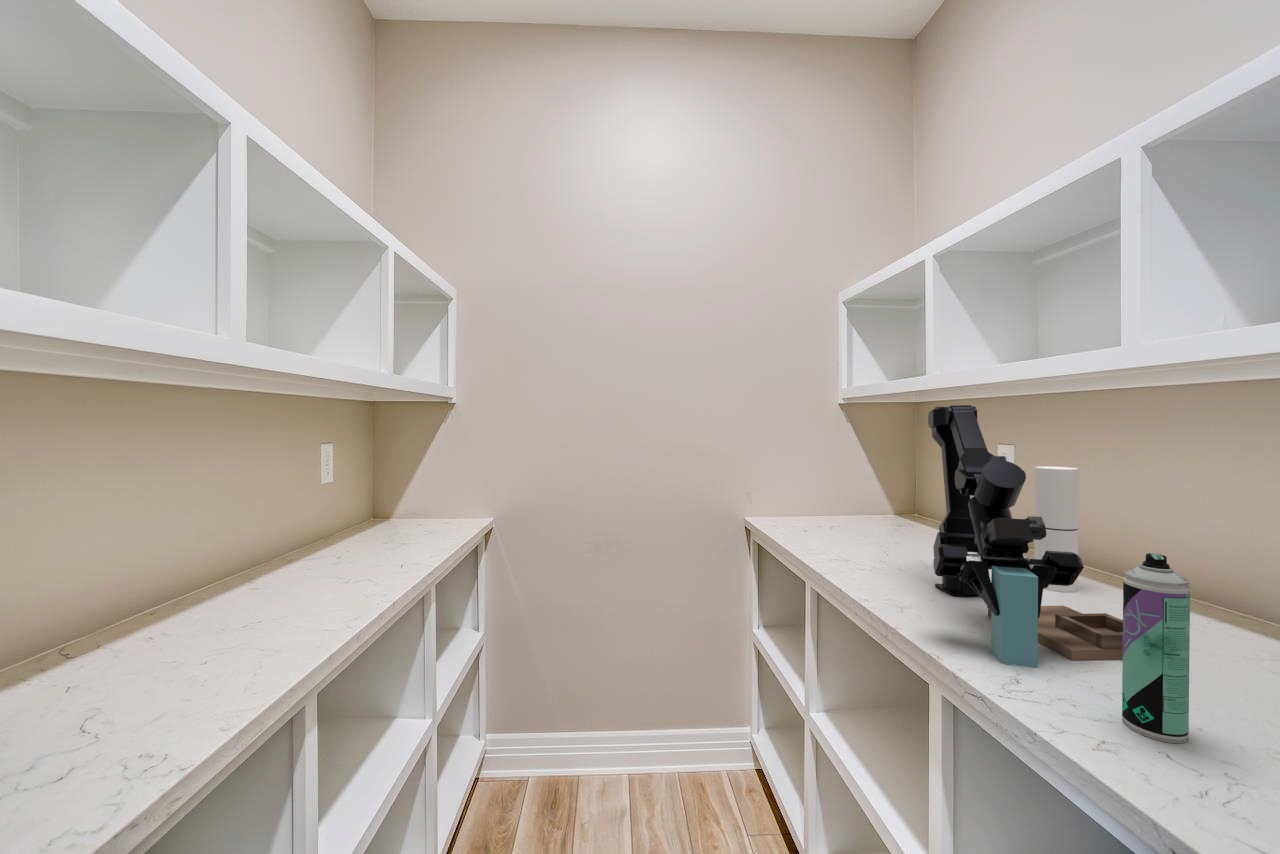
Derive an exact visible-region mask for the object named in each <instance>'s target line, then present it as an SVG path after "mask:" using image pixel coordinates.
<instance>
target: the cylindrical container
mask: <svg viewBox="0 0 1280 854" xmlns="http://www.w3.org/2000/svg"><path fill="white" fill-rule="evenodd" d="M1034 517H1042V519H1043V522H1044V524H1045V528H1046V537H1045V538H1043V539H1041V540H1034V559H1042V557H1043V556H1044V554H1045V552H1046V551H1061V552H1073V553H1075V554H1077V555H1078V556H1079V468H1077V467H1071V466H1070V467H1069V466H1052V465H1051V466H1050V465H1049V466H1047V465H1046V466H1045V465H1043V466H1040V465H1039V466H1034ZM1078 577H1079V576H1078ZM1078 577H1077V579H1076V580H1075V582H1074V583H1073V585H1069V586H1061V585H1049V586H1048V587H1047V588H1044V589H1043V590H1048V591H1054V592H1061V593H1074V592H1077V591H1078V589H1079V587H1078V586H1079V585H1078V583H1079V581H1078V579H1079V578H1078Z"/></svg>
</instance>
